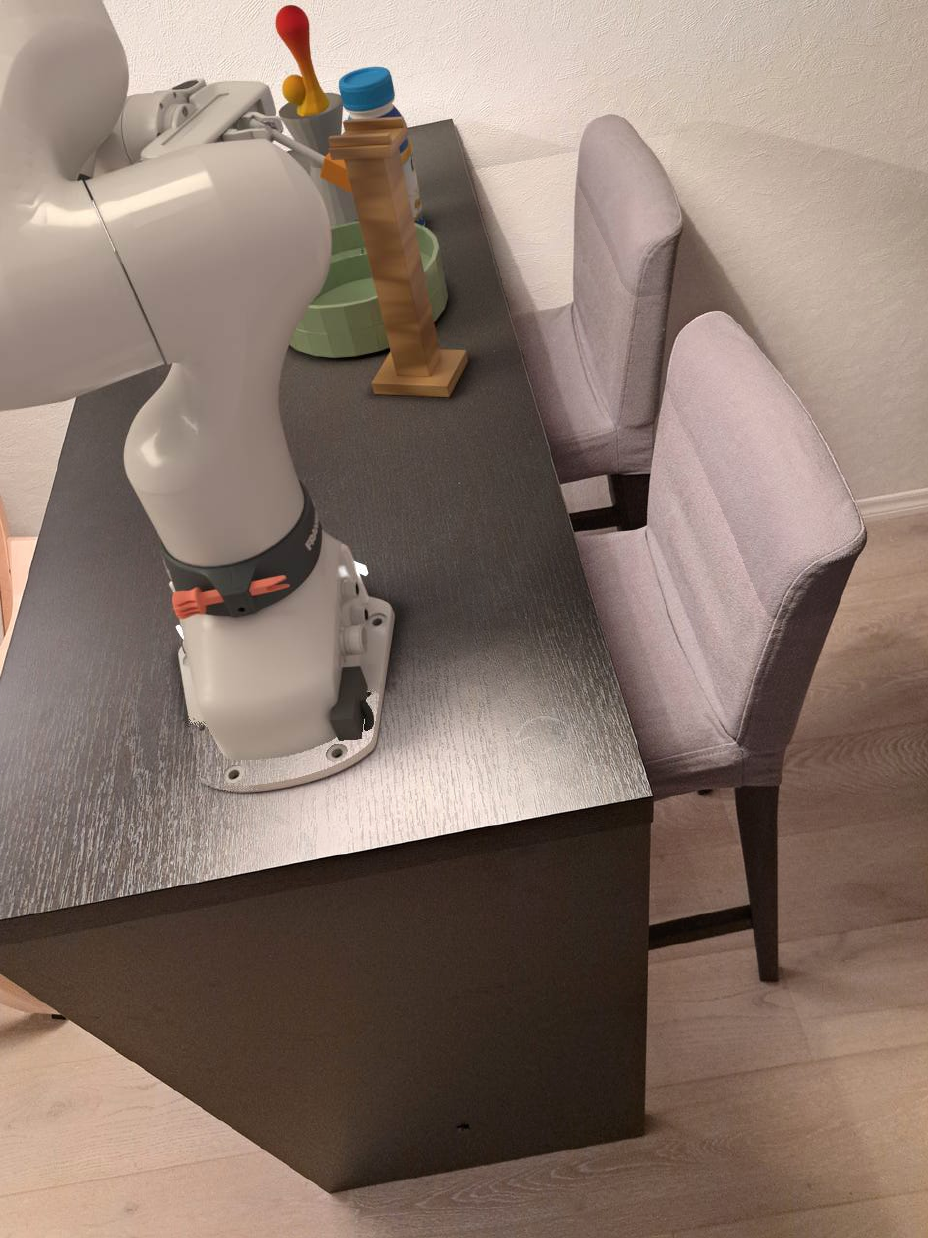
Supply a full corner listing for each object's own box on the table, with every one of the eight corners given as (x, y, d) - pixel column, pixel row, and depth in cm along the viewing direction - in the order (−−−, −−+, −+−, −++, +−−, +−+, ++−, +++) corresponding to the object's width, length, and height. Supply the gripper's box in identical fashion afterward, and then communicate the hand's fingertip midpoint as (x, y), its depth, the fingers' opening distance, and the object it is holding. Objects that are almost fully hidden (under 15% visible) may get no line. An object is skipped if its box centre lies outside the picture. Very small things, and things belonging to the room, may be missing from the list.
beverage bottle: (356, 234, 133) (318, 81, 119) (405, 211, 136) (373, 58, 121) (389, 251, 128) (353, 93, 114) (438, 227, 131) (410, 69, 116)
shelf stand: (468, 361, 107) (423, 109, 87) (449, 397, 102) (398, 141, 83) (395, 358, 109) (336, 114, 90) (373, 394, 105) (307, 145, 86)
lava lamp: (369, 195, 142) (304, -88, 116) (367, 221, 136) (298, -71, 110) (311, 205, 143) (233, -73, 117) (306, 232, 136) (223, -56, 111)
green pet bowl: (458, 338, 110) (448, 283, 105) (281, 377, 111) (263, 323, 106) (438, 257, 125) (428, 205, 120) (281, 291, 125) (265, 240, 120)
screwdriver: (384, 196, 107) (390, 178, 105) (376, 206, 105) (382, 188, 103) (254, 128, 105) (258, 107, 103) (245, 137, 104) (248, 116, 102)
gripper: (108, 146, 99) (222, 141, 95) (199, 72, 112) (303, 65, 107) (133, 205, 104) (243, 203, 99) (217, 128, 116) (318, 123, 112)
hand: (275, 130), depth 103 cm, fingers closed on screwdriver, 1 cm apart
